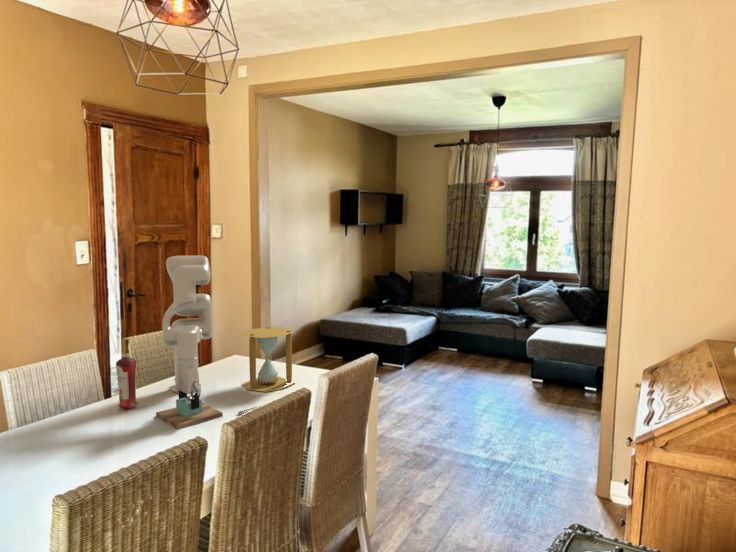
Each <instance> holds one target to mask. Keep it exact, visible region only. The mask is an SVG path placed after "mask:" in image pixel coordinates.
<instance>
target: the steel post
mask: <svg viewBox="0 0 736 552" xmlns="http://www.w3.org/2000/svg"><path fill="white" fill-rule="evenodd" d="M191 399H192V398H191V395H187V397H185V402H186V403H187V402H191Z"/></svg>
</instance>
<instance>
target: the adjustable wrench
mask: <svg viewBox="0 0 736 552" xmlns="http://www.w3.org/2000/svg"><path fill="white" fill-rule="evenodd" d="M260 406H261V405H259V406H255V407H251V408H246V409H243V410H239V411H237V416H240V415H242V414H244V413H246V412H248V411H250V410H253V409H255V408H257V407H260ZM242 416H243V415H242ZM240 417H241V416H240Z"/></svg>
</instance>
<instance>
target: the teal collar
mask: <svg viewBox="0 0 736 552" xmlns="http://www.w3.org/2000/svg"><path fill="white" fill-rule="evenodd" d="M202 403H203V399H201V398H199V405H200V407H199V408H197V409H193V410H192V409H191V402H187V403H186V402H185V398H181V399H179V398H177V399H175V407H176V412H177V413H178V414H180V415H182V416H184V417H187V416H191V415H195V414H198V413H202Z"/></svg>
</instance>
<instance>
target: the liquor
mask: <svg viewBox="0 0 736 552" xmlns="http://www.w3.org/2000/svg"><path fill="white" fill-rule="evenodd" d="M120 340H121V349H122V351H121V358H120V359H118V360H117V361H116V362H115V368H116V379H117V388H118V400H119V401H118V402H119V404H118V406H117V407H119V408H120V409H122V410H123V409H124V411H128V409H129V410H133V409H134V408H135V407H136V406H137V405H138V402H137V392H136V391H137V389H136V388H137V387H136V386H137V360H136V359H134V358H132V357H131V355H130V349H129V345H130V339H129V338H122V339H120Z"/></svg>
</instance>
